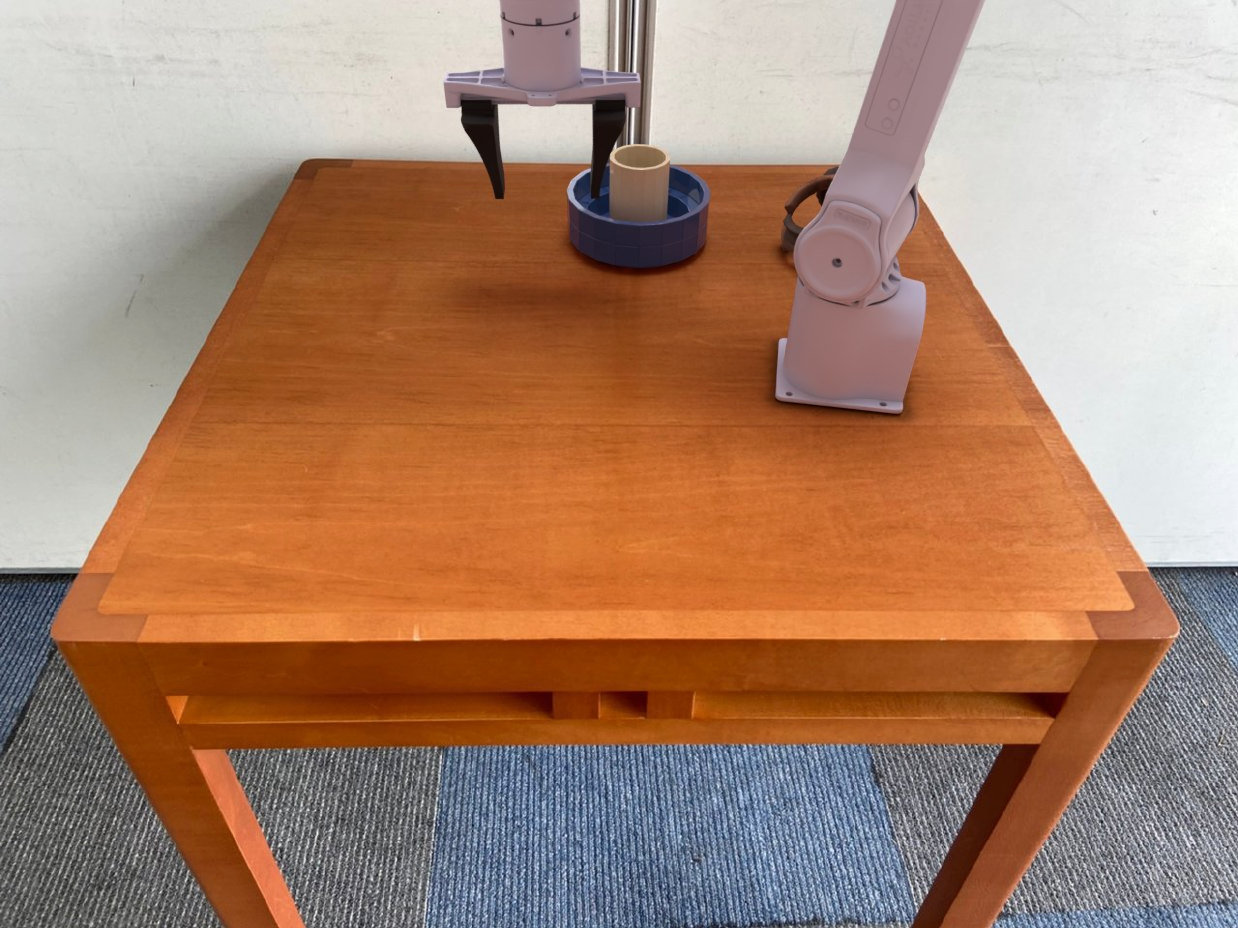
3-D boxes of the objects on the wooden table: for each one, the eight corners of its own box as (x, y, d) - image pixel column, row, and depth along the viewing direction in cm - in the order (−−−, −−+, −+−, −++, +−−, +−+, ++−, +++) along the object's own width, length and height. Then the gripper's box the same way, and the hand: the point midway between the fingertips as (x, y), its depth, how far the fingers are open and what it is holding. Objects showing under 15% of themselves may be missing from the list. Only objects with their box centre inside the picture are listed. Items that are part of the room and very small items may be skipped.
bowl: (711, 214, 91) (715, 166, 88) (698, 281, 82) (703, 231, 78) (583, 202, 93) (582, 155, 89) (555, 267, 83) (553, 217, 80)
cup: (674, 226, 88) (679, 151, 82) (651, 251, 84) (655, 174, 79) (624, 214, 89) (625, 139, 84) (599, 238, 86) (599, 162, 81)
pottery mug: (900, 282, 83) (879, 220, 77) (800, 312, 87) (772, 254, 80) (883, 193, 89) (863, 129, 83) (791, 224, 93) (764, 165, 87)
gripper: (430, 31, 61) (453, 217, 70) (645, 32, 62) (639, 216, 71) (441, 0, 66) (461, 177, 75) (639, 1, 67) (634, 176, 76)
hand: (547, 193), depth 73 cm, fingers open, 7 cm apart
